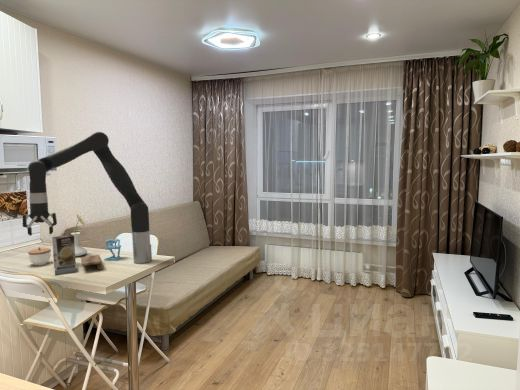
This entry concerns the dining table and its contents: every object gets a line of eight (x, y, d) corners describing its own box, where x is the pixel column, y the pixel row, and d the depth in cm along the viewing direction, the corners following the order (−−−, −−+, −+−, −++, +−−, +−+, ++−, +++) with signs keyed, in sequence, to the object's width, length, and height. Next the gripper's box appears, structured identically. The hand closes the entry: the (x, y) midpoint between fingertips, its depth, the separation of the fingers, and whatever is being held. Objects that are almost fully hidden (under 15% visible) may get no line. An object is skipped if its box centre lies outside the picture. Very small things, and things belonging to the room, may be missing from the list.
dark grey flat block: (76, 268, 193) (76, 263, 193) (77, 271, 186) (77, 267, 186) (55, 271, 188) (55, 266, 188) (55, 275, 181) (54, 270, 181)
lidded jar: (56, 261, 206) (54, 245, 205) (40, 267, 196) (38, 250, 195) (41, 260, 209) (39, 244, 208) (24, 266, 199) (23, 249, 198)
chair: (123, 256, 214) (122, 236, 213) (117, 260, 206) (116, 239, 205) (110, 257, 215) (109, 236, 214) (104, 260, 206) (102, 239, 205)
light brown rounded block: (99, 262, 202) (99, 254, 202) (102, 269, 188) (101, 261, 188) (81, 265, 198) (81, 256, 197) (83, 272, 184) (82, 263, 183)
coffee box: (58, 268, 193) (56, 238, 191) (53, 266, 197) (51, 237, 196) (76, 264, 200) (74, 235, 198) (71, 262, 204) (69, 234, 203)
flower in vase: (81, 257, 214) (78, 215, 211) (62, 258, 214) (59, 216, 212) (92, 252, 227) (89, 212, 224) (74, 252, 227) (71, 213, 225)
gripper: (56, 200, 183) (58, 232, 185) (23, 201, 178) (25, 234, 179) (54, 202, 176) (56, 235, 178) (19, 203, 171) (21, 237, 172)
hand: (40, 234), depth 179 cm, fingers open, 8 cm apart
